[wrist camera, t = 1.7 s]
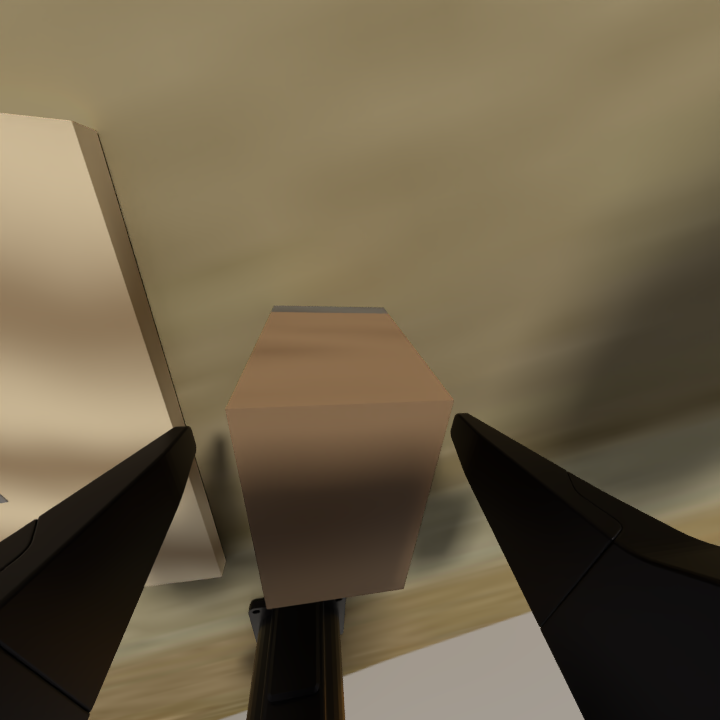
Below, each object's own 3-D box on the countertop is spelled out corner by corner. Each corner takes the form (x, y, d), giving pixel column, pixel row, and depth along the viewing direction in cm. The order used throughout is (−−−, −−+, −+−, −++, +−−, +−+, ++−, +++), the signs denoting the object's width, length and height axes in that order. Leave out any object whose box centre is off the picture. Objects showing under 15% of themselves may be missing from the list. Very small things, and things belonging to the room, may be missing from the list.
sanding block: (369, 444, 13) (403, 588, 8) (286, 449, 13) (266, 609, 8) (383, 307, 10) (453, 400, 5) (274, 305, 10) (225, 408, 4)
